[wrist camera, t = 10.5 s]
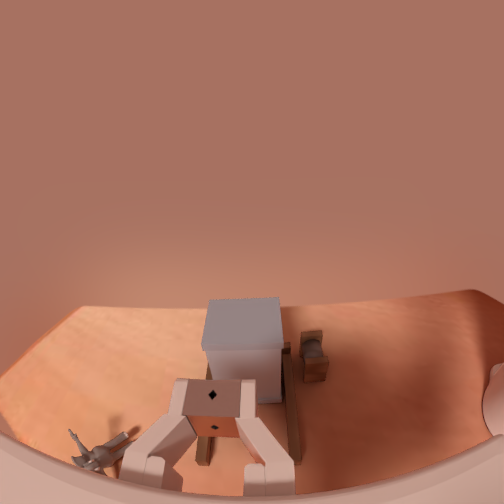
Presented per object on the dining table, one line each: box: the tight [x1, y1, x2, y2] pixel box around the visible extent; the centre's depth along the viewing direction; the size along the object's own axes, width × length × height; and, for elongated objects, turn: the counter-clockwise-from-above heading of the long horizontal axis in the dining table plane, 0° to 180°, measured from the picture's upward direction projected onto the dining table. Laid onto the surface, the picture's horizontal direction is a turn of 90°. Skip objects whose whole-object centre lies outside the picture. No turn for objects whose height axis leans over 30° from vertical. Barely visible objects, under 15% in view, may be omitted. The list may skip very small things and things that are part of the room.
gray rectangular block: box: [201, 297, 284, 404], centre depth 35 cm, size 8×7×12 cm
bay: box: [195, 331, 329, 466], centre depth 33 cm, size 16×19×4 cm
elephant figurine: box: [68, 429, 133, 476], centre depth 24 cm, size 10×6×9 cm
